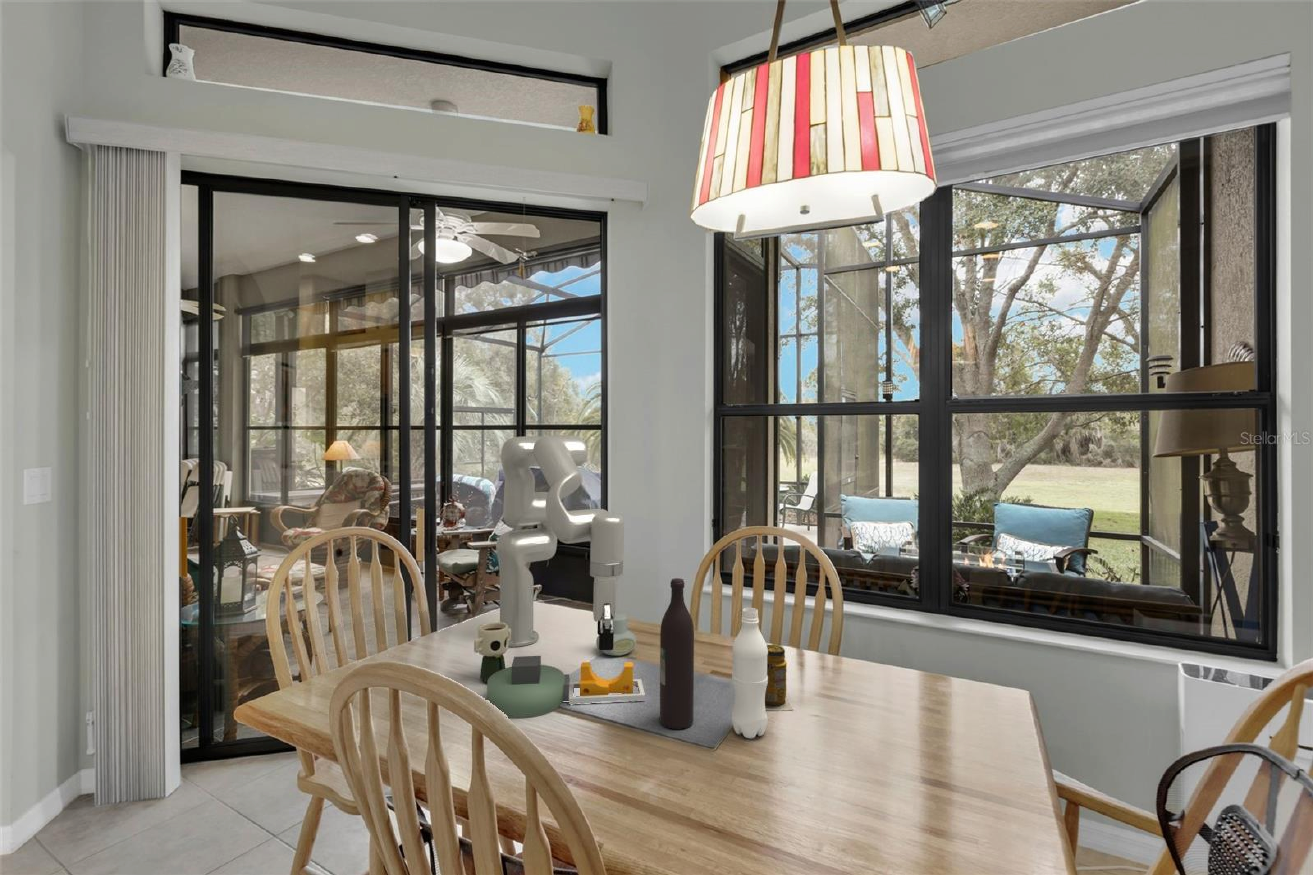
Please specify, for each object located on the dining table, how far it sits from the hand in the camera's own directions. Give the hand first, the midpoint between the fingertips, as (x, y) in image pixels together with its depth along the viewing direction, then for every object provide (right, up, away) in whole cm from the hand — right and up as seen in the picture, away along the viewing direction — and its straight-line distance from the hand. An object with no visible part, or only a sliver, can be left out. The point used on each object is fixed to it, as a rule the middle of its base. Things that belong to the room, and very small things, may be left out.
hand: (605, 641), depth 144 cm
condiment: (+38, -13, -3) cm, 40 cm away
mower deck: (-9, -12, -2) cm, 15 cm away
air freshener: (+1, -12, +27) cm, 30 cm away
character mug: (-28, -12, +8) cm, 32 cm away
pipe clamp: (0, -12, 0) cm, 12 cm away
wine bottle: (+16, -13, -13) cm, 24 cm away
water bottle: (+31, -13, -18) cm, 38 cm away
